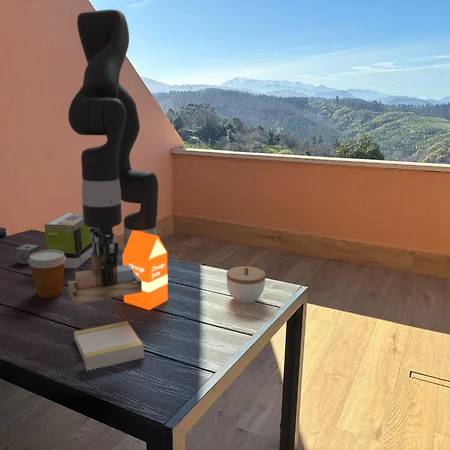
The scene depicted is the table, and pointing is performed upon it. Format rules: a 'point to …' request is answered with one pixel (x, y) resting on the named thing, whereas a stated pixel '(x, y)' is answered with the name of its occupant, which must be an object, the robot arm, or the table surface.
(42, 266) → the disposable coffee cup
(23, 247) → the dice cube
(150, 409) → the table surface
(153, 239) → the orange juice
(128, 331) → the strip
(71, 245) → the tea box
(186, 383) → the table surface
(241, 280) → the lidded jar
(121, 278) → the block
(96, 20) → the robot arm
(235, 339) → the table surface
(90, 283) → the block
